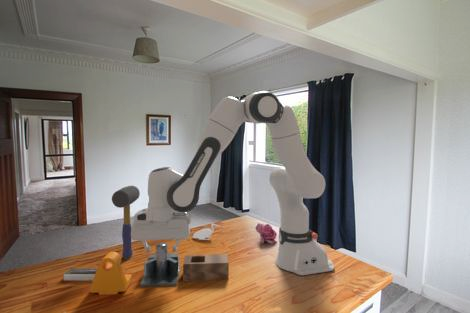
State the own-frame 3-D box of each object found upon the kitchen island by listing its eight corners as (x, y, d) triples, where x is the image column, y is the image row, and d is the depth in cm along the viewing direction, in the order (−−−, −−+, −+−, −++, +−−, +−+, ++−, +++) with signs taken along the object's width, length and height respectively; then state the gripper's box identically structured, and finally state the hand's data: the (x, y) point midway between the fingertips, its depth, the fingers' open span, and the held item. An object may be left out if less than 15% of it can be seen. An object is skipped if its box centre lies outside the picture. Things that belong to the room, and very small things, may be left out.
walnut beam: (227, 269, 99) (227, 254, 99) (228, 279, 92) (228, 262, 92) (185, 270, 98) (185, 255, 97) (183, 280, 91) (183, 264, 90)
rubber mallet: (130, 265, 102) (129, 190, 100) (111, 265, 102) (109, 189, 100) (141, 251, 114) (141, 184, 112) (125, 251, 114) (123, 184, 112)
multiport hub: (104, 280, 91) (104, 274, 91) (63, 280, 91) (63, 274, 91) (110, 274, 95) (110, 268, 95) (70, 274, 95) (70, 268, 95)
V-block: (180, 267, 100) (180, 252, 100) (176, 285, 88) (176, 268, 88) (148, 269, 99) (148, 253, 98) (140, 286, 87) (140, 269, 87)
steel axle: (168, 271, 95) (168, 242, 94) (166, 277, 91) (166, 246, 91) (157, 272, 95) (157, 242, 94) (155, 277, 91) (154, 247, 90)
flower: (278, 247, 127) (282, 235, 121) (260, 251, 124) (262, 239, 118) (270, 228, 135) (273, 216, 129) (252, 232, 133) (254, 219, 127)
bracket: (132, 281, 90) (131, 248, 89) (125, 293, 83) (124, 257, 82) (100, 282, 89) (99, 248, 89) (90, 295, 82) (89, 258, 81)
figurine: (221, 238, 130) (221, 222, 130) (220, 242, 126) (220, 224, 125) (193, 238, 131) (193, 221, 130) (191, 241, 126) (191, 224, 126)
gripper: (191, 210, 96) (191, 246, 97) (134, 211, 94) (135, 248, 95) (189, 214, 89) (190, 253, 90) (129, 216, 87) (129, 255, 88)
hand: (161, 250), depth 92 cm, fingers open, 8 cm apart
